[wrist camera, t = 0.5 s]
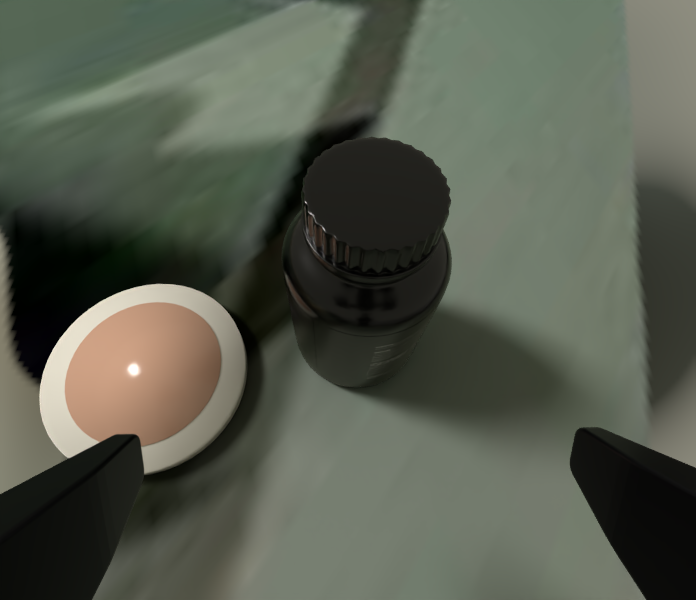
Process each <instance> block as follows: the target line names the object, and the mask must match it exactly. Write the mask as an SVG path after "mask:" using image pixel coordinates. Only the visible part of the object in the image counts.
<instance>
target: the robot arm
mask: <svg viewBox="0 0 696 600" xmlns="http://www.w3.org/2000/svg"><path fill="white" fill-rule="evenodd" d="M570 468H571V471H572V474H573V476H574V478H575V480H576V481H577V483H578V485H579V487H580V489H581V491H582V493H583V495H584V496H585V498H586V500H587V502H588V504H589V506H590V508H591V510H592V511H593V513H594V515H595V517H596V519H597V521H598V523H599V524H600V526H601V528H602V530H603V532H604V534H605V535H606V537H607V539H608V541H609V542H610V544H611V546H612V547H613V549H614V551H615V552H616V554H617V555H618V557H619V559H620V560H621V562H622V563H623V565H624V566H625V568H626V569H627V571H628V572H629V574H630V575H631V577H632V579H633V580H634V582H635V583H636V585H637V586H638V588H639V589H640V591H641V592H642V594H643V595H644V597H645V598H646V600H696V468H695V467H693V466H690V465H688V464H685V463H683V462H681V461H678V460H676V459H673V458H671V457H669V456H666V455H664V454H662V453H659V452H657V451H654V450H652V449H650V448H647V447H645V446H642V445H640V444H638V443H635V442H633V441H631V440H628V439H626V438H623V437H621V436H619V435H616V434H614V433H611V432H609V431H607V430H604V429H602V428H598V427H583V428H579V429H578V430H577V431H576V433H575V437H574V442H573V447H572V452H571V457H570ZM143 478H144V464H143V456H142V449H141V442H140V438H139V436H137V435H136V434H115V435H113V436H111V437H109V438H107V439H105V440H103V441H101V442H99V443H97V444H96V445H94V446H92V447H90V448H88V449H86V450H84V451H82V452H80V453H78V454H76V455H74V456H73V457H71V458H69V459H67V460H65V461H63V462H61V463H59V464H57V465H55V466H53V467H52V468H50V469H48V470H46V471H44V472H42V473H40V474H38V475H36V476H34V477H32V478H30V479H29V480H27V481H25V482H23V483H21V484H19V485H17V486H15V487H13V488H12V489H9V490H8V491H6V492H4V493H2V494H0V600H92V599H93V597H94V595H95V593H96V591H97V589H98V587H99V585H100V583H101V581H102V579H103V577H104V575H105V573H106V571H107V569H108V567H109V565H110V562H111V560H112V558H113V556H114V553H115V551H116V549H117V546H118V544H119V541H120V538H121V536H122V533H123V531H124V528H125V526H126V523H127V520H128V518H129V515H130V513H131V510H132V508H133V505H134V502H135V500H136V497H137V495H138V492H139V490H140V487H141V484H142V482H143Z"/></svg>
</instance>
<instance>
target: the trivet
mask: <svg viewBox="0 0 696 600" xmlns="http://www.w3.org/2000/svg"><path fill="white" fill-rule="evenodd" d="M246 379H247V354H246V348H245V345H244V342H243V338H242V336H241V334H240V332H239V330H238V328H237V326H236V324H235V322H234V321H233V319H232V318H231V316H230V315H229V313H228V312H227V311H226V310H225V309H224V308H223V307H222V306H221V305H220V304H219V303H218V302H216V301H215V300H214V299H212V298H211V297H209V296H207V295H206V294H204V293H202V292H199V291H197V290H195V289H191V288H188V287H184V286H179V285H172V284H154V285H145V286H140V287H135V288H132V289H128V290H125V291H122V292H120V293H117V294H115V295H112V296H110V297H109V298H107V299H105V300H103V301H101V302H99V303H98V304H96V305H95V306H93V307H92V308H90V309H89V310H88V311H86V312H85V313H84V314H83V315H81V316H80V317H79V318H78V319H77V320H76V321H75V322H74V323H73V324H72V325H71V326H70V327H69V328H68V329H67V331H66V332H65V333H64V334H63V335H62V337H61V338H60V340H59V341H58V343H57V344H56V346H55V347H54V349H53V351H52V353H51V355H50V357H49V359H48V361H47V364H46V367H45V369H44V372H43V376H42V381H41V385H40V398H39V400H40V411H41V416H42V420H43V424H44V426H45V429H46V431H47V434H48V436H49V437H50V439H51V440H52V442H53V443H54V445H55V446H56V447H57V448H58V449H59V450H60V451H61V452H62V454H63V455H65V456H66V457H67V458H71V457H73V456H74V455H76V454H78V453H80V452H82V451H84V450H86V449H88V448H90V447H92V446H94V445H96V444H97V443H99V442H101V441H103V440H105V439H107V438H109V437H111V436H113V435H115V434H136V435H137V436H139V438H140V442H141V449H142V456H143V464H144V475H150V474H154V473H158V472H162V471H165V470H168V469H171V468H173V467H176V466H178V465H180V464H182V463H184V462H186V461H188V460H189V459H191V458H193V457H194V456H196V455H197V454H198V453H200V452H201V451H203V450H204V449H205V448H206V447H207V446H209V445H210V444H211V443H212V442H213V441H214V440H215V439H216V438H217V437H218V436H219V435H220V433H221V432H222V431H223V430H224V429H225V427H226V426H227V425H228V423H229V422H230V420H231V419H232V417H233V415H234V414H235V412H236V410H237V408H238V406H239V404H240V401H241V399H242V396H243V393H244V389H245V385H246Z"/></svg>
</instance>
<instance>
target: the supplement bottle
mask: <svg viewBox="0 0 696 600" xmlns="http://www.w3.org/2000/svg"><path fill="white" fill-rule="evenodd" d="M449 194H450V188H449V187H448V185H447V178H446V177H445V176H444V175H443V174H442V173H441V168H439V167H438V166H437V165H435V164H434V161H433V160H432V159H431V158H429V157H427V156H425V154H424V153H423V152H422V151H419V150H416V149H415V148H414V147H412V146H411V145H407V144H403V143H402V142H400V141H397V140H390V139H387V138H375V137H369V138H357V139H355V140H346V141H344V142H343V143H341V144H336V145H333V146H332V148H331V149H328V150H325V151H323V153H322V154H321V156H319V157H317V158H316V159H315V160H314V163H313V165H311V166H310V167H309V168H308V171H307V175H306V176H305V178H304V179H303V189H302V193H301V195H302V207H303V208H302V210H301V211H300V212H299V213H298V214H297V216H296V217H295V218H294V220H293V221H292V223H291V225H290V227H289V229H288V231H287V233H286V236H285V239H284V243H283V248H282V268H283V275H284V280H285V285H286V290H287V295H288V300H289V305H290V310H291V315H292V320H293V325H294V330H295V335H296V339H297V343H298V346H299V349H300V351H301V353H302V355H303V357H304V359H305V361H306V362H307V363H308V365H309V366H310V367H311V368H312V369H313V370H314V371H315V372H316V373H317V374H318V375H320V376H321V377H323V378H324V379H326V380H328V381H330V382H332V383H335V384H338V385H341V386H346V387H368V386H373V385H376V384H379V383H381V382H384V381H386V380H387V379H389V378H391V377H392V376H393V375H395V374H396V373H397V372H398V371H399V370H400V369H401V368H402V367H403V366H404V364H405V363H406V362H407V360H408V359H409V357H410V355H411V354H412V352H413V350H414V349H415V347H416V345H417V343H418V341H419V339H420V338H421V336H422V334H423V332H424V330H425V329H426V327H427V325H428V323H429V321H430V319H431V318H432V316H433V314H434V312H435V310H436V309H437V307H438V305H439V303H440V301H441V299H442V297H443V295H444V293H445V291H446V288H447V286H448V283H449V280H450V275H451V267H452V257H451V250H450V246H449V242H448V239H447V237H446V234H445V232H444V230H443V228H444V226H445V223H446V221H447V218H448V215H449V207H450V204H451V199H450V197H449Z"/></svg>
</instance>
